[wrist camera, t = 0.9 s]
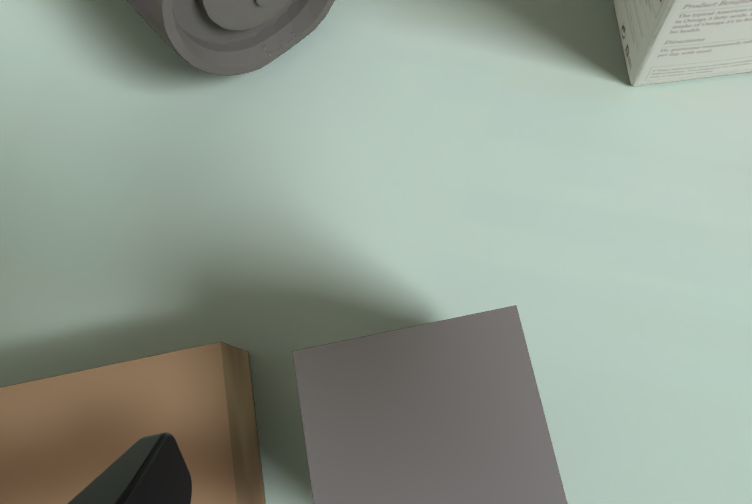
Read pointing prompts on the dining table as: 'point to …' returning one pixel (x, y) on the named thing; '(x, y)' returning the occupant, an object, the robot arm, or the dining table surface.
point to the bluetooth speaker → (232, 29)
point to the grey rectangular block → (428, 416)
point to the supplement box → (684, 38)
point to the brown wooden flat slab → (134, 425)
